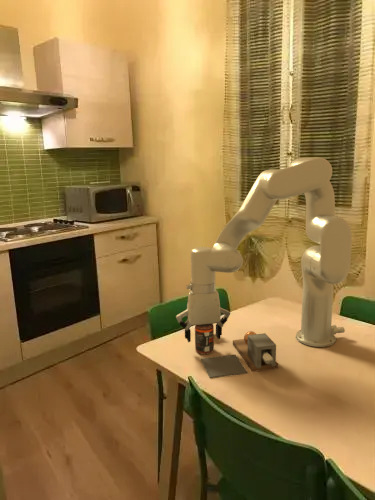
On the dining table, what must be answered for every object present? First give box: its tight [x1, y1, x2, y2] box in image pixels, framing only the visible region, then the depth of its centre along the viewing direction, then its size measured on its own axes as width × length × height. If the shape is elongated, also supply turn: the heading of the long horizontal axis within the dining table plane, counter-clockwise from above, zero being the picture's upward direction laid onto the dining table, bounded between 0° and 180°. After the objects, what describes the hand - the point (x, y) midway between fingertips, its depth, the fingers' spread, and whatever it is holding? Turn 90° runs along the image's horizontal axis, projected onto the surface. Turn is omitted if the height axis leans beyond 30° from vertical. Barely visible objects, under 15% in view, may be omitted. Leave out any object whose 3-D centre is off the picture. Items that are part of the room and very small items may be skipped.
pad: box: [200, 354, 248, 379], centre depth 116 cm, size 11×11×1 cm
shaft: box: [243, 330, 273, 365], centre depth 117 cm, size 15×4×4 cm, turn 11°
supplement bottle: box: [194, 324, 215, 355], centre depth 125 cm, size 6×6×11 cm
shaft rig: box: [232, 332, 279, 373], centre depth 121 cm, size 19×8×8 cm, turn 11°
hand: (203, 338), depth 125 cm, fingers open, 9 cm apart
